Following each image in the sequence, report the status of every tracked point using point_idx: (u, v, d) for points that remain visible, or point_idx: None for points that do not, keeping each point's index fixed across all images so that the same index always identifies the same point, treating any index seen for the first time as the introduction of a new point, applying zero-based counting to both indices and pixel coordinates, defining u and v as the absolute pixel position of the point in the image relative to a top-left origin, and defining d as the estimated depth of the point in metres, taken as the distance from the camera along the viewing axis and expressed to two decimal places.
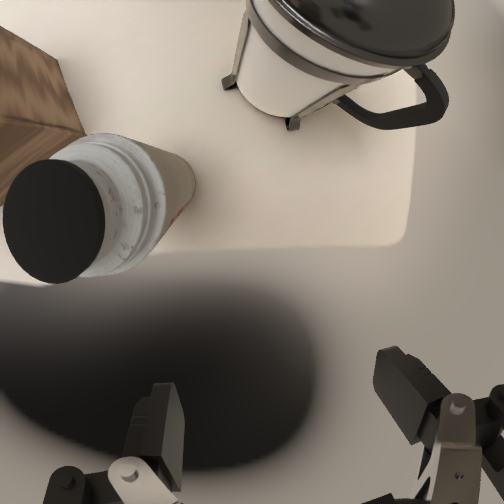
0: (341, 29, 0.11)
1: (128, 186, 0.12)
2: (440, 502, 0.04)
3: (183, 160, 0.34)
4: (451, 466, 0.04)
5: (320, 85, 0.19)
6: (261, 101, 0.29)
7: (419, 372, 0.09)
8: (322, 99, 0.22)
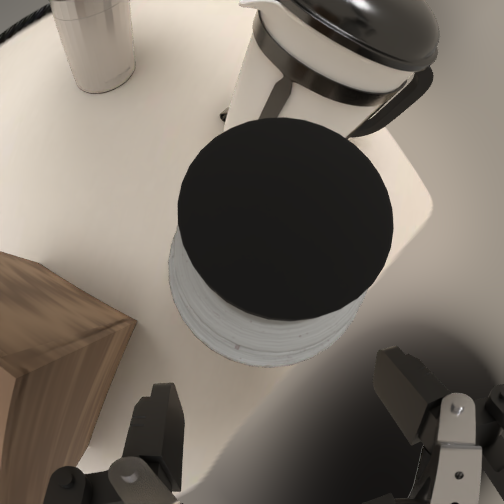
0: (413, 49, 0.12)
1: None
2: (440, 502, 0.04)
3: None
4: (451, 466, 0.04)
5: (367, 114, 0.21)
6: None
7: (419, 372, 0.09)
8: (357, 129, 0.24)
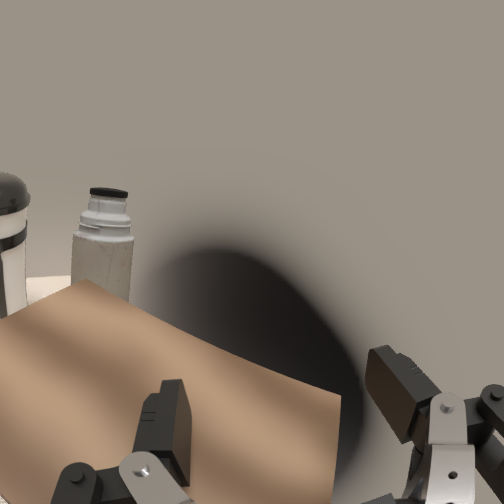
0: (25, 193, 0.30)
1: None
2: (435, 503, 0.04)
3: None
4: (444, 466, 0.04)
5: None
6: None
7: (410, 371, 0.09)
8: None
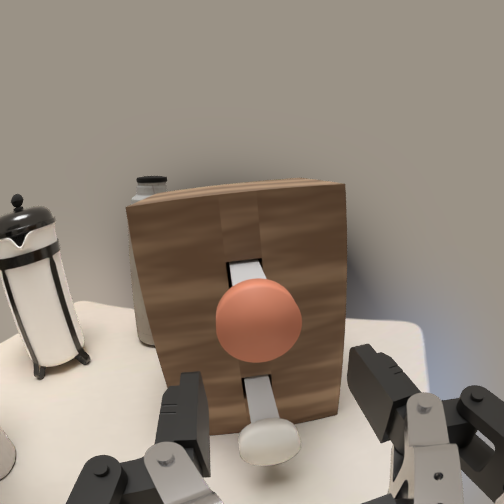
0: None
1: (134, 196, 0.46)
2: None
3: (137, 326, 0.50)
4: (428, 468, 0.05)
5: None
6: None
7: (388, 370, 0.09)
8: None
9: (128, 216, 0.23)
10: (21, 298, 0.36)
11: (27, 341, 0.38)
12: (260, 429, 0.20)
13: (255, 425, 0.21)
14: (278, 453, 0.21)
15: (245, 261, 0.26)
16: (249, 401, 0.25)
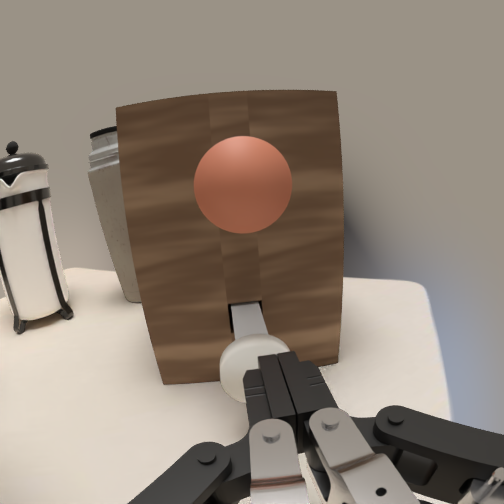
0: None
1: None
2: None
3: None
4: (366, 487, 0.05)
5: None
6: (63, 272, 0.45)
7: (305, 380, 0.10)
8: None
9: (117, 116, 0.21)
10: (6, 242, 0.34)
11: (9, 291, 0.35)
12: (245, 344, 0.18)
13: (240, 341, 0.19)
14: None
15: None
16: (235, 325, 0.23)
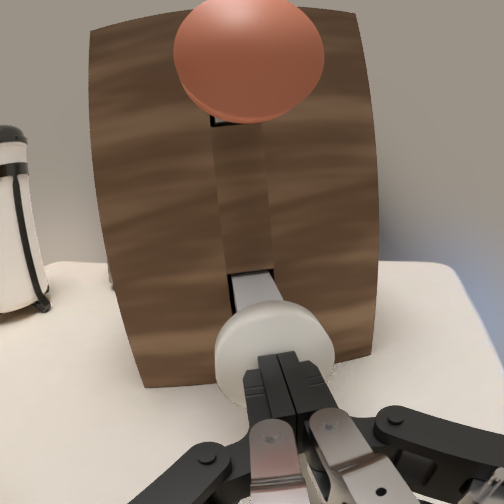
0: None
1: None
2: None
3: (108, 267, 0.41)
4: (366, 487, 0.05)
5: None
6: (41, 259, 0.38)
7: (305, 380, 0.10)
8: None
9: (91, 39, 0.14)
10: None
11: None
12: (255, 315, 0.12)
13: (246, 311, 0.12)
14: None
15: None
16: (237, 296, 0.16)
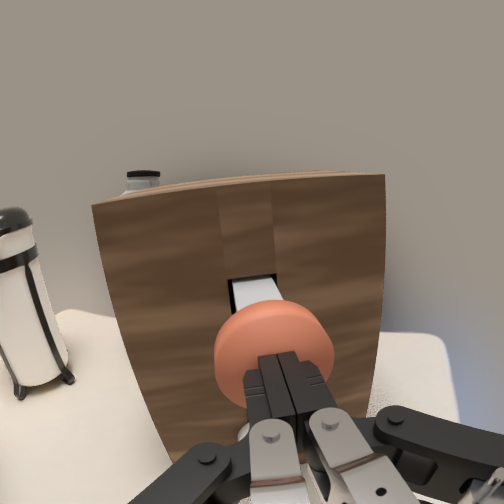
0: None
1: (123, 193, 0.40)
2: None
3: None
4: (366, 487, 0.05)
5: None
6: (60, 333, 0.40)
7: (305, 380, 0.10)
8: None
9: (95, 217, 0.16)
10: None
11: (4, 359, 0.31)
12: None
13: None
14: None
15: None
16: None
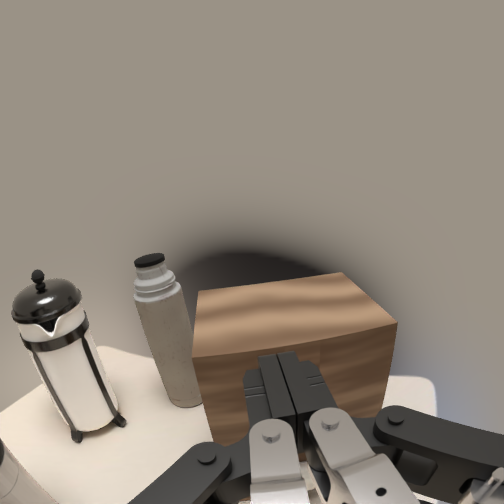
0: None
1: (137, 282, 0.45)
2: None
3: (174, 397, 0.49)
4: (366, 487, 0.05)
5: None
6: None
7: (305, 380, 0.10)
8: None
9: (194, 365, 0.23)
10: (56, 377, 0.36)
11: (64, 412, 0.38)
12: None
13: None
14: (310, 484, 0.27)
15: None
16: None
